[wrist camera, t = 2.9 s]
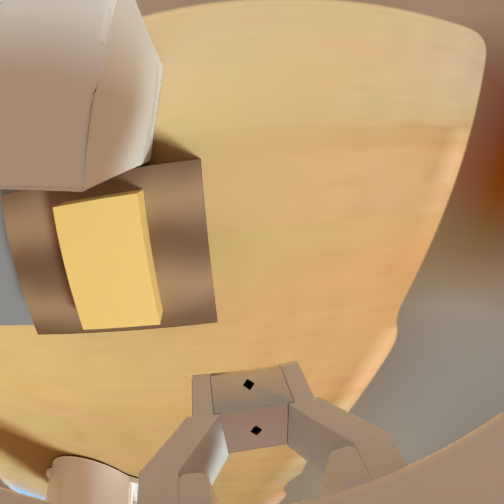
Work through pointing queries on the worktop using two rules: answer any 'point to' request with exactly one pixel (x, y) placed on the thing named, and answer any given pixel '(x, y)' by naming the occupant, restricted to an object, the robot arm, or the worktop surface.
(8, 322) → the mat
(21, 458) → the worktop surface
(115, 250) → the yellow rectangular block
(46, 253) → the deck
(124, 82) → the skincare box
